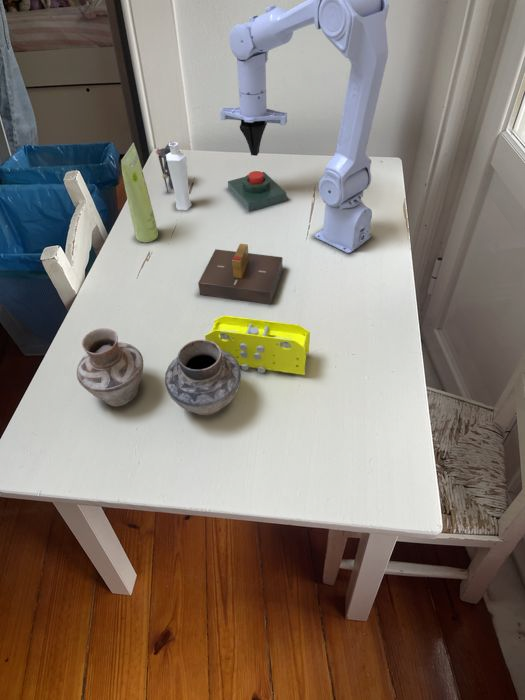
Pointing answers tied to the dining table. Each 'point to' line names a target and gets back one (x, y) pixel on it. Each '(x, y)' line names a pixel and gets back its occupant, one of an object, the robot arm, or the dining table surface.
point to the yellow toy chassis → (262, 343)
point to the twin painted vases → (181, 376)
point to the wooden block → (240, 261)
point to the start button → (256, 177)
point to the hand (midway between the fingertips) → (255, 153)
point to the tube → (138, 197)
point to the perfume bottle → (179, 176)
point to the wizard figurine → (165, 164)
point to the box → (256, 192)
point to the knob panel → (252, 285)
